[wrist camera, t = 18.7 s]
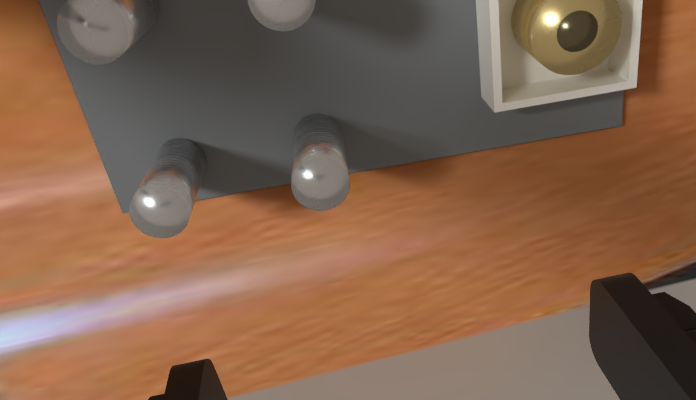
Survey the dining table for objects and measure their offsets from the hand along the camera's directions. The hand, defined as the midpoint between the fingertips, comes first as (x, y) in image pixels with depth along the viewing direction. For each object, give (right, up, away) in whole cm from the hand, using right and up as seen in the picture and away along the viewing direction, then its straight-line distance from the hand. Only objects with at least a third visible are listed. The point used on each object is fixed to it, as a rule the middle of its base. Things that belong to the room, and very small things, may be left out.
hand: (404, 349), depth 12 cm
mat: (-1, +12, +24) cm, 27 cm away
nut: (+11, +14, +23) cm, 29 cm away
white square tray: (+11, +14, +24) cm, 30 cm away
